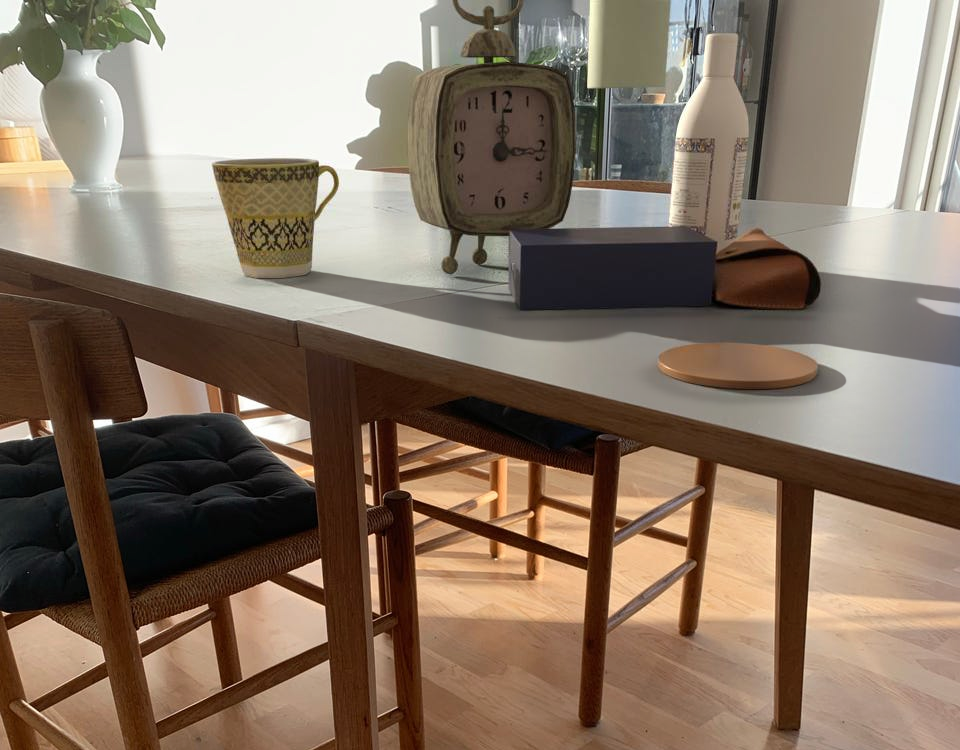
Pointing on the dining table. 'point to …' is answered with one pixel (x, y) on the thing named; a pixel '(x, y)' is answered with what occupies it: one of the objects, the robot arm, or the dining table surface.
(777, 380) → the coaster
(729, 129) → the bath foam
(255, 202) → the ceramic cup
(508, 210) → the tabletop clock
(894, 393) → the dining table surface
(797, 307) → the sunglasses case
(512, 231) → the navy case
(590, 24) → the bottle
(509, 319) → the dining table surface
